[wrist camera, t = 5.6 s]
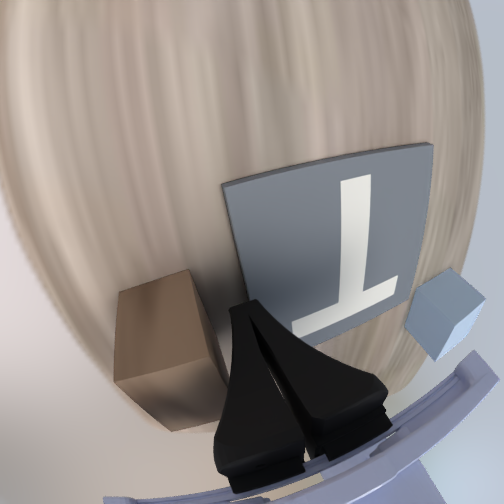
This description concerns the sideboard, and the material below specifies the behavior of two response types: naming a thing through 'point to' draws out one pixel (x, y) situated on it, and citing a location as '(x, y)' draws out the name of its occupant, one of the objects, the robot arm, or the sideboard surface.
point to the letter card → (332, 237)
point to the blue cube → (443, 312)
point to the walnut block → (169, 353)
